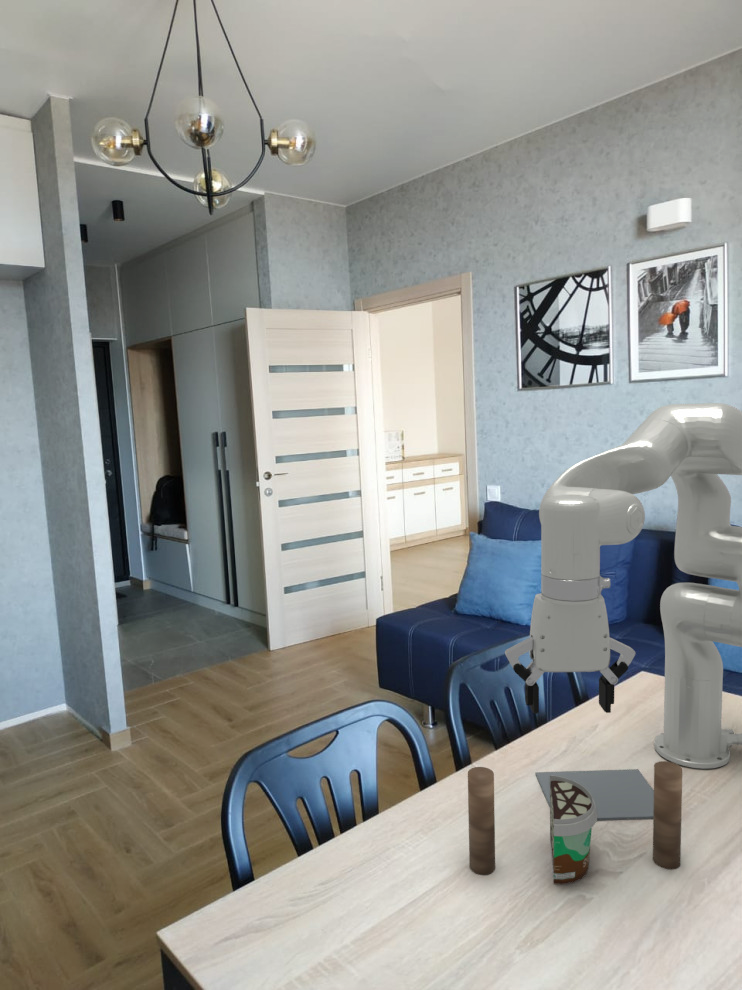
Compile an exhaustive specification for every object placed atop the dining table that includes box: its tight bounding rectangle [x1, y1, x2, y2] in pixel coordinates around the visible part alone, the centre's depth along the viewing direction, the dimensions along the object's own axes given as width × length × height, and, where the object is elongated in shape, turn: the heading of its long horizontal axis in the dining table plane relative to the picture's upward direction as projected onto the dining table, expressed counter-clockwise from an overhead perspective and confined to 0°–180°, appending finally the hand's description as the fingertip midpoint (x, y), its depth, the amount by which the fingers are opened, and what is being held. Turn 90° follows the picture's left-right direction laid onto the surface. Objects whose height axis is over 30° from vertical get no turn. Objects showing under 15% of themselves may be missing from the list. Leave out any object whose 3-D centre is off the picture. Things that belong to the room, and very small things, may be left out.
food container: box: [549, 775, 598, 885], centre depth 98 cm, size 12×6×10 cm, turn 168°
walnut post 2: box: [652, 760, 683, 870], centre depth 98 cm, size 4×4×14 cm
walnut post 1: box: [467, 766, 496, 876], centre depth 98 cm, size 4×4×14 cm
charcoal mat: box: [535, 768, 654, 821], centre depth 115 cm, size 18×14×1 cm
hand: (569, 709), depth 96 cm, fingers open, 9 cm apart
